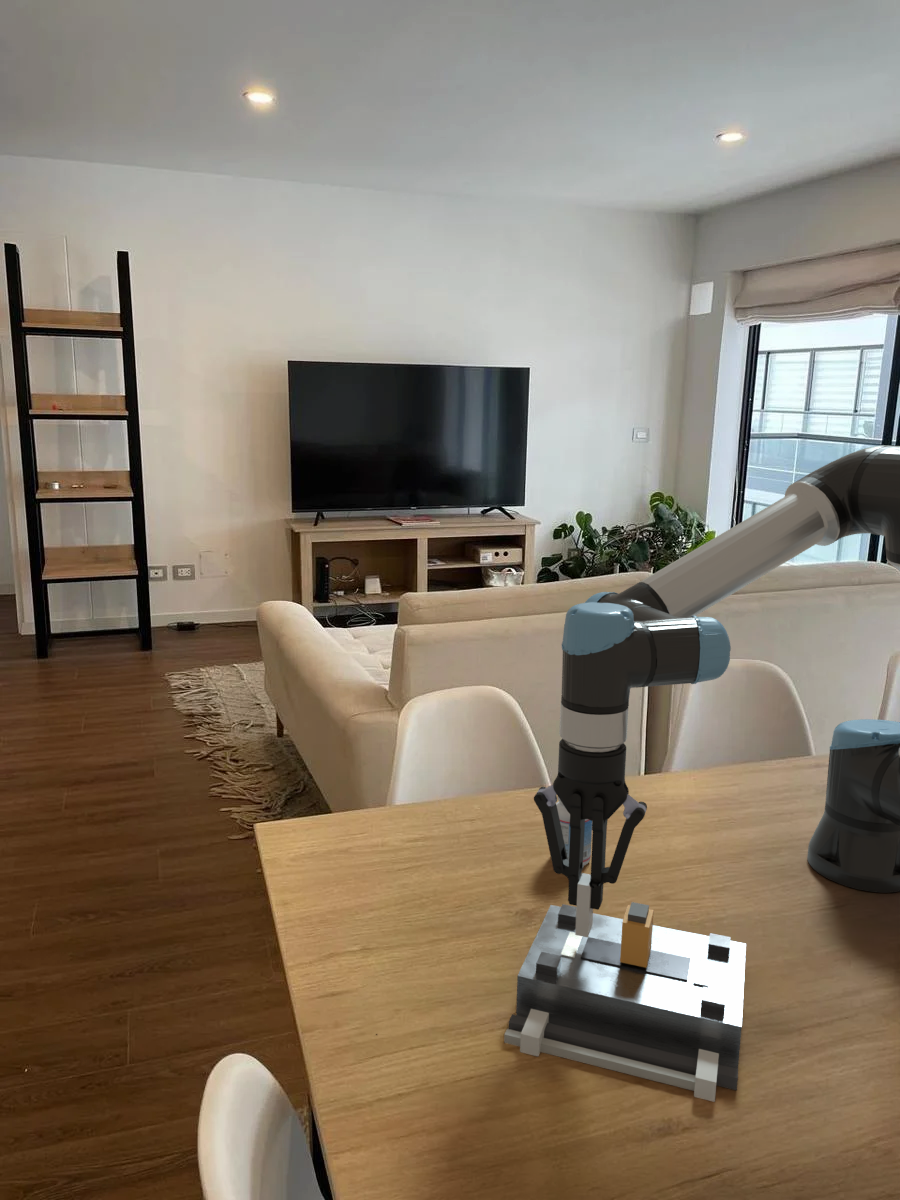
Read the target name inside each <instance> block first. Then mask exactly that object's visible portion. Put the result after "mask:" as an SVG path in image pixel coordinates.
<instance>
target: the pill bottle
mask: <svg viewBox="0 0 900 1200" xmlns="http://www.w3.org/2000/svg"><path fill="white" fill-rule="evenodd" d="M556 806H557V810H558V814H559V819H560V824H561V829H562V834H563V839H564V844H565V848H566V853H567V858H568V860H569V848H570V814H569V812H568V811H567V810H566V808H565V806H564V805H563V803H562V802H561V800H560V799H559V797H558V796H557V802H556ZM592 835H593V830H592V821H591V820H589V819H585V831H584V851H583V866H584V867H585V866H587V864H588V863H590V861H591V857H592Z"/></svg>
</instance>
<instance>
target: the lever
mask: <svg viewBox="0 0 900 1200" xmlns="http://www.w3.org/2000/svg"><path fill="white" fill-rule="evenodd" d="M654 910H655V909H651V908H650V905H649V904H644V903H638V902H635V901H631V903H630V904H627V907H626V910H625V913H624V916H623V918H622V919H623V922H622V938H621V956H620V962H622V963H627V964H631V965H636V966H641V967H645V968H647V964H648V960H649V956H650V952H651V944H652V929H653V925H654V912H655V911H654Z"/></svg>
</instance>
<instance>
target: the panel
mask: <svg viewBox="0 0 900 1200" xmlns="http://www.w3.org/2000/svg"><path fill="white" fill-rule="evenodd" d="M576 908H577V906H575V905H570V904H563V903H562V904H561V905H560V906H558V905H552V904H550V905H549V908H548V910H547V912H546V914H545V916H544V917H543V921H542V923H541V925H540V926H539V927H540V928H539V929H538V932H537V933H536V936H535V937H534V940H533V942H532V944H531V946H530V948H529V950H528V953H527V955H526V957H525V959H524V961H523V963H522V965H521V967H520V970H519V971H518V974H517V978H516V1005H515V1006H516V1008H515V1011H516V1012H515V1015H518V1016H522V1017H526V1018H528V1015H529V1013H530V1010H531V1009H535V1010H539V1011H543V1012H547V1013H549V1022H548V1023H551V1024H555V1025H559V1026H563V1027H567V1028H571V1029H575V1030H579V1031H584V1032H588V1033H592V1034H596V1035H600V1036H604V1037H608V1038H612V1039H616V1040H621V1041H625V1042H629V1043H633V1044H637V1045H641V1046H645V1047H649V1048H654V1049H658V1050H662V1051H666V1052H670V1053H674V1054H678V1055H682V1056H687V1057H691V1058H695V1059H698V1052H699V1049H702V1050H706V1051H711V1052H715V1053H719V1058H718V1064H719V1065H724V1066H728V1067H732V1068H736V1069H738V1070H739V1064H740V1063H739V1062H740V1052H741V1049H740V1048H741V1039H742V1026H743V1010H744V991H745V990H744V989H745V973H746V972H745V970H746V952H747V943H745V942H740V941H736V940H731V936H727V935H722V934H716V933H711V932H709V935H705V934H700V933H695V932H689V931H685V930H678V929H674V928H670V927H669V928H668V927H664V926H659V925H654V924H653V929H652V944H651V952H650V956H649V960H648V964H647V968H645V967H641V966H636V965H631V964H627V963H622V962H620V956H621V938H622V922H623V919H624V918H620V917H619V918H618V917H613V916H608V915H604V914H603V915H602V914H599V913H594V912H593V922H592V928H591V930H590V933H589V936H588V937H583V936H578V935H575V930H576Z"/></svg>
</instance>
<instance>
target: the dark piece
mask: <svg viewBox="0 0 900 1200" xmlns="http://www.w3.org/2000/svg"><path fill="white" fill-rule="evenodd" d="M548 1022H549V1013H547V1012H543V1011H539V1010H535V1009H531V1010H530V1013H529V1015H528V1018H526V1017H522V1016H518V1015H516V1014H511V1016H510V1019H509V1020H508V1027H507V1028H506V1030H505V1032H504V1038H503V1040H504V1044H508V1045H513V1046H515V1047H519V1052H520V1053H521V1054H522V1053H523V1054H526V1055H531V1056H535V1057H540V1054H541V1053H543V1054H547V1055H551V1056H556V1057H560V1058H564V1059H568V1060H570V1061H571V1060H572V1061H575V1062H580V1063H583V1064H587V1065H591V1066H594V1067H599V1068H603V1069H607V1070H610V1071H615V1072H619V1073H621V1074H626V1075H630V1076H634V1077H638V1078H642V1079H646V1080H650V1081H652V1082H653V1081H654V1082H658V1083H661V1084H665V1085H670V1086H674V1087H678V1088H681V1089H684V1090H689V1091H693V1097H694V1098H697V1099H701V1100H702V1099H703V1100H704V1101H705V1100H706V1101H710V1102H714V1103H715V1102H716V1093H717V1086H718V1087H722V1088H725V1089H729V1090H733V1091H738V1080H739V1068H738V1069H736V1068H732V1067H728V1066H724V1065H719V1064H718V1058H719V1053H715V1052H711V1051H706V1050H702V1049H699V1052H698V1059H695V1058H691V1057H687V1056H682V1055H678V1054H674V1053H670V1052H666V1051H662V1050H658V1049H654V1048H649V1047H645V1046H641V1045H637V1044H633V1043H629V1042H625V1041H621V1040H616V1039H612V1038H608V1037H604V1036H600V1035H596V1034H592V1033H588V1032H584V1031H579V1030H575V1029H571V1028H567V1027H563V1026H559V1025H555V1024H551V1023H548Z"/></svg>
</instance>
